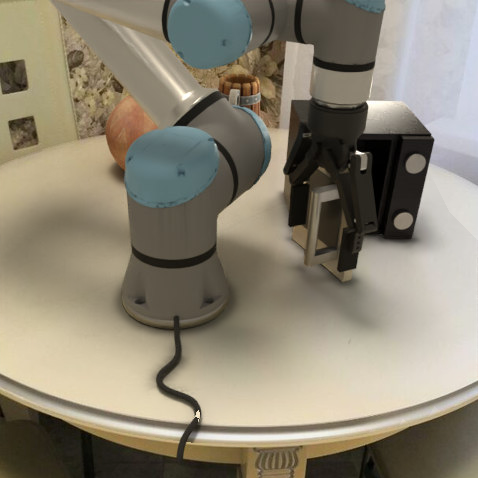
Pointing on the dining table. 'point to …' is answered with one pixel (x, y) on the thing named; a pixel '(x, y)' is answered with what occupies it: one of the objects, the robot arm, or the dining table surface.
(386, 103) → the microwave
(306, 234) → the microwave door
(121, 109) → the jug
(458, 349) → the dining table surface
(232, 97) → the mug
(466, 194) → the dining table surface
